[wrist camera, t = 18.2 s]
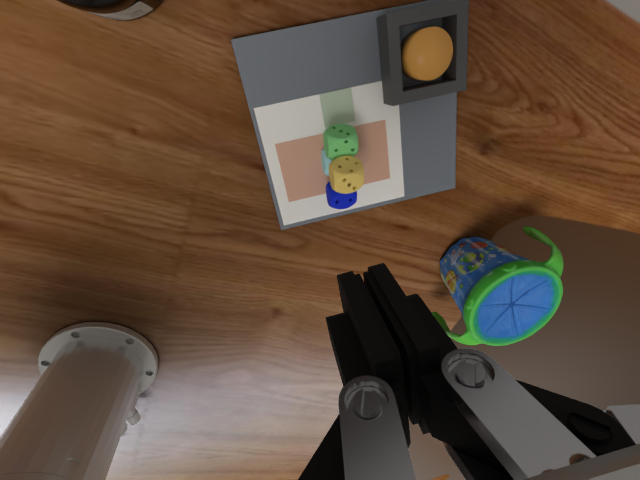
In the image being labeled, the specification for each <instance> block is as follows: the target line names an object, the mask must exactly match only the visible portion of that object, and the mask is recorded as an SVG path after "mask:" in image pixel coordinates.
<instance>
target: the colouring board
mask: <svg viewBox="0 0 640 480" xmlns="http://www.w3.org/2000/svg"><path fill="white" fill-rule="evenodd" d="M468 12H469V0H428V1H423V2H418V3H413V4H407V5H402V6H397V7H392V8H387V9H382V10H377V11H372V12H367V13H362V14H357V15H352V16H347V17H342V18H337V19H332V20H327V21H322V22H317V23H312V24H307V25H302V26H297V27H291V28H286V29H281V30H276V31H271V32H266V33H261V34H256V35H251V36H246V37H241V38H236V39H231V42H232V46H233V49H234V53H235V57H236V61H237V65H238V68H239V72H240V76H241V80H242V83H243V87H244V91H245V95H246V99H247V102H248V106H249V110H250V114H251V118H252V121H253V125H254V129H255V133H256V136H257V140H258V144H259V148H260V152H261V155H262V159H263V163H264V167H265V171H266V174H267V178H268V182H269V186H270V189H271V193H272V197H273V201H274V205H275V208H276V212H277V216H278V220H279V224H280V227H281V230H284V229H288V228H292V227H296V226H300V225H304V224H308V223H313V222H317V221H321V220H325V219H329V218H333V217H337V216H341V215H346V214H350V213H354V212H358V211H362V210H366V209H370V208H375V207H379V206H383V205H387V204H391V203H395V202H399V201H403V200H408V199H412V198H416V197H420V196H424V195H428V194H432V193H436V192H441V191H445V190H449V189H453V188H455V173H456V111H457V92H460V91H464V90H466V82H467V47H468ZM433 26H434V27H440V28H442V29H444V30H445V31H446V32H447V33H448V34H449V36H450V37H451V40H452V44H453V55H452V59H451V62H450V64H449V66H448V68H447V69H446V71H445V72H444V73H443V74H442V75H441V76H439V77H438V78H436V79H433V80H429V81H426V80H414V79H410V78H408V77H406V76H405V75H404V74H403V73H402V68H401V49H400V44H401V42H402V41H403V39H404V38H405V37H406V36H407V35H408V34H409V33H411V32H412V31H415V30H418V29H423V28H427V27H433ZM334 124H348V125H351V126H353V127H354V128H355V129H356V132H357V136H358V152H357V154H356V155H355V156H354V157H356V158H358V159H359V160H360V161H361V162H362V165H363V169H364V184H363V186H362V187H361V188H360V189H358V190H357V201H356V203H355V204H354V205H352V206H351V207H349V208H346V209H335V208H332V207H330V206H329V205H328V202H327V197H326V185H327V183H328V182H330V179H329V176H327V175H325V174H324V172H323V168H322V161H321V151H322V150H323V149H324V141H323V134H324V131H325V130H326V129H327V128H328V127H330V126H331V125H334Z"/></svg>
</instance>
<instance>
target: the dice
mask: <svg viewBox="0 0 640 480" xmlns="http://www.w3.org/2000/svg"><path fill="white" fill-rule="evenodd" d="M323 141H324V149H323V150H322V151H321V161H322V168H323V172H324V174H325V175H327V176H329V179H330V182H328V183H327V185H326V197H327V202H328V205H329V206H330V207H332V208H335V209H346V208H349V207H351V206H352V205H354V204H355V203H356V201H357V190H358V189H360V188H361V187H362V186H363V184H364V169H363V165H362V162H361V161H360V160H359V159H358V158H356V157H354V156H355V155H356V154H357V152H358V136H357V132H356V129H355V128H354V127H353V126H351V125H348V124H334V125H331V126H330V127H328V128H327V129H326V130H325V131H324V134H323Z"/></svg>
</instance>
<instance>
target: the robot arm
mask: <svg viewBox="0 0 640 480" xmlns="http://www.w3.org/2000/svg"><path fill="white" fill-rule="evenodd" d="M363 276H364V281H363V279H362V278H361V276H360V274H356V275H354V273H353V271H351V272H347V273H343V274H339V275H337V280H338V285H339V290H340V296H341V301H342V306H343V312H344V313H341V314H337V315H333V316H329V317H326V322H327V326H328V331H329V335H330V339H331V343H332V347H333V351H334V355H335V358H336V362H337V365H338V369H339V372H340V376H341V379H342V383H343V386H344V387H343V388H342V390H341V392H340V395H339V415H338V417H337V418H336V420H335V422H334V423H333V425H332V426H331V428H330V430H329V431H328V433H327V434H326V436H325V438H324V439H323V441H322V442H321V444H320V446H319V447H318V449H317V450H316V452H315V454H314V455H313V457H312V458H311V460H310V462H309V463H308V465H307V466H306V468H305V469H304V471H303V473H302V474H301V476H300V477H299V479H298V480H416V478H415V474H414V471H413V466H412V463H411V458H410V454H409V450H408V448H409V445H410V431H409V419H410V421H411V423H412V424H417V423H418V424H419V426H420V428H421V430H422V433H423V434H426V433H429V432H430V433H431V435H432V437H434V438H436V439H438V440H440V441H443V444H444V447H445V449H446V451H447V452H448V454H449V455H450V457H451V458H452V460H453V461H454V463H455V464H456V466H457V467H458V469H459V470H460V472H461V473H462V474H463V476H464V478H465V479H466V480H640V404H639V405H621V406H620V405H619V406H608V407H607V410H600V409H598V408H596V407H594V406H591V405H589V404H586V403H583V402H580V401H577V400H574V399H571V398H568V397H565V396H562V395H559V394H556V393H553V392H550V391H548V390H544V389H541V388H539V387H536V386H532V385H530V384H527V383H524V382H521V381H517V380H515V379H514V378H513V377H512V376H511V375H510V374H509V373H508V372H506V371H505V370H504V369H503V368H502V367H501V366H500V365H499V364H498V363H497V362H496V361H495V360H494V359H492V358H491V357H490V356H488V355H487V354H485V353H483V352H481V351H478V350H474V349H469V348H465V349H463V348H461V349H457V347H456V346H455V344H454V343H453V342H452V340H451V339H450V338H449V336H448V335H447V333H446V332H445V331H444V329H443V328H442V327H441V325H440V324H439V322H438V321H437V320H436V318H435V317H434V316H433V314H432V313H431V311H430V310H429V309H428V307H427V306H426V305H425V303H424V302H423V300H422V299H421V298H420V297H419V295H417V294H413V295H409V296H406V295H405V294H404V292H403V291H402V289H401V288H400V286H399V285H398V283H397V282H396V280H395V279H394V277H393V276H392V274H391V273H390V271H389V270H388V268H387V267H386V265H385V264H384V263H382V264H378V265H374V266H370V267H368V271H367V272H364V273H363ZM38 367H39V372H40V374H41V378H40V379H39V381H38V382H37V384H36V385H35V387H34V388H33V390H32V391H31V392H30V394H29V395H28V397H27V398H26V400H25V401H24V403H23V404H22V406H21V407H20V409H19V410H18V412H17V413H16V415H15V416H14V418H13V419H12V421H11V422H10V424H9V425H8V427H7V428H6V429H5V431H4V432H3V434H2V435H1V437H0V480H105V479H106V476H107V473H108V471H109V468H110V465H111V462H112V459H113V456H114V454H115V451H116V448H117V445H118V442H119V439H120V437H121V436H122V435H123V434H124V433H125V432H126V430H127V424H126V423H125V422H126V420H128V422H129V423H130V424H131V425H134V424H136V423H137V422H139V420H140V419H141V415H140V414H139V412H138V411H137V410H136V409H135V408H134V407H135V404H136V401H137V398H138V395H140V394H141V393H143V392H144V391H145V390H146V389H148V388H149V386H150V385H151V384H152V383H153V381H154V379H155V376H156V374H157V370H158V357H157V353H156V351H155V349H154V348H153V346H152V345H151V344H150V343H149V342H148V340H147V339H145V338H144V337H143V336H141V335H140V334H139V333H137V332H135V331H133V330H131V329H129V328H126V327H123V326H120V325H117V324H112V323H105V322H86V323H80V324H75V325H71V326H69V327H66V328H64V329H62V330H60V331H58V332H57V333H55V334H54V335H53V336H52V337H51V338H50V339H49V340H48V341H47V342H46V344H45V345H44V346H43V348H42V349H41V351H40V354H39V356H38ZM408 417H409V419H408Z"/></svg>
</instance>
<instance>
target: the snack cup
mask: <svg viewBox="0 0 640 480" xmlns="http://www.w3.org/2000/svg"><path fill="white" fill-rule="evenodd" d="M523 231H524V232H525V233H527V234H528V235H529V236H530V237H532V238H534V239H536V240H538V241H540V242H542V243H544V244H546V245H549V246H551V256H550V258H549V259H548V260H547V261H545V262H536V261H531V260H529V259H526V258H524V257H522V256H520V255H518V254H516V253H514V252H512V251H510V250H508V249H506V248H504V247H502V246H500V245H497V244H495V243H493V242H492V241H490V240H487V239H484V238H480V237H470V238H463V239H460V240H459V241H458V242H457V243H456V244H454V245H453V246H451V247H450V248H449V250H448V251H447V252H446V254H445V256H444V257H443V258H442V259H441V260H440V272H441V277H442V280H443V281H444V283H445V285H446V287H447V288H448V290H449V292H450V294H451V295H452V297H453V299H454V300H455V302H456V304H457V306H458V307H459V309H460V311H461V313H462V316H463V319H464V322H465V324H466V331H465V333H464V334H463V335H459V334H455V333H452V332H450V330H449V328H448V327H447V324H446V322H445V320H444V319H443V317H441V316H440V315H439V314H438V313H436V312H432V314H433V316H434V317H435V318H436V320H437V321H438V322H439V324H440V325H441V327H442V328H443V329H444V331H445V332H446V333H447V335H448V336H449V337H451V338H452V339H454V340H455V341H457V342H460V343H463V344H467V345H477V344H481V343H484V344H487V345H493V346H502V345H508V344H512V343H515V342H518V341H521V340H523V339H525V338H527V337H529V336H531V335H532V334H534V333H535V332H537V331H538V330H539V329H540V328H541V327H543V326H544V325H545V324H546V323H547V322H548V321H549V320H550V318H551V317H552V316H553V315H554V313H555V312H556V310H557V308H558V306H559V304H560V302H561V298H562V293H563V287H562V282H561V280H560V277H561V274H562V270H563V258H562V255H561V252H560V251H559V249H558V248H557V246H556V245H555V244H554V243H553V242H552V241H551V240H550V239H549V238H548V237H547V236H546V235H544V234H543V233H541V232H540V231H538V230H536V229H534V228H532V227H528V226H524V227H523Z"/></svg>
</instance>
